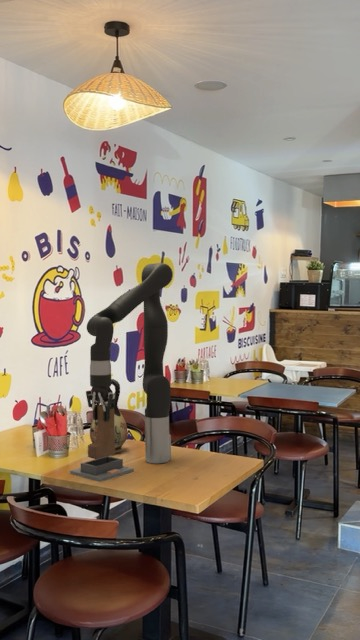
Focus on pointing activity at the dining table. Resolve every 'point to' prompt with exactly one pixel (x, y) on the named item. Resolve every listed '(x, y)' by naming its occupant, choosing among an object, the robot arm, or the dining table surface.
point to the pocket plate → (102, 469)
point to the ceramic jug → (119, 423)
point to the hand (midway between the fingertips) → (101, 420)
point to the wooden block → (103, 437)
